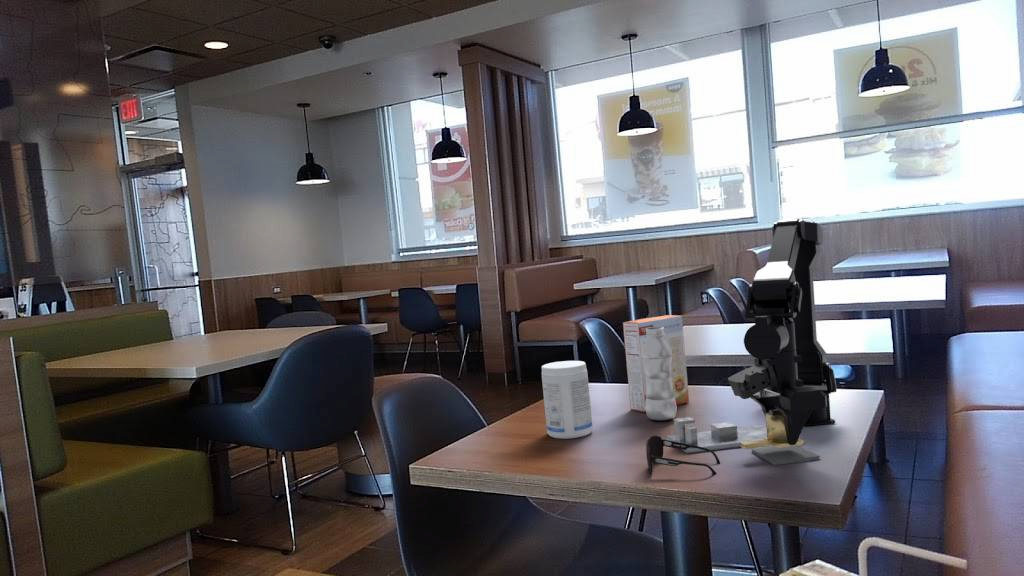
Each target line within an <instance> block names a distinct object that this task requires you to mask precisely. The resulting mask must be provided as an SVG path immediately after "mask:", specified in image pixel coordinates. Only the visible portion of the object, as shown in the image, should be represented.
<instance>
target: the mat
mask: <svg viewBox="0 0 1024 576" xmlns="http://www.w3.org/2000/svg"><path fill="white" fill-rule="evenodd" d="M751 453H752V454H753V455H756V456H757V457H759V458H761V459H763V460H765V461H766V462H769V463H770V464H772V465H773V466H778V465H779V466H780V465H785V464H786V465H787V464H793V463H794V464H795V463H803V462H811V461H819V460H821V456H820V455H818V454H817V453H814V452H813V451H810V450H808V449H807V448H804V447H802V446H801V445H796V446H789V447H781V448H778V447H776V446H766V447H759V448H752V449H751Z"/></svg>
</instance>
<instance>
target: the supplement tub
mask: <svg viewBox="0 0 1024 576" xmlns="http://www.w3.org/2000/svg"><path fill="white" fill-rule="evenodd" d="M541 382H542V383H541V384H542V393H543V403H544V414H545V424H546V431H547V432H546V433H547V434H548V435H549V437H551V438H554V439H560V440H561V439H564V440H566V439H567V440H568V439H569V440H570V439H577V438H581V437H585V436H588V435H590V434H591V433H592V431H593V415H592V407H591V395H590V387H589V386H590V383H589V377H588V370H587V364H586V362H585V361H582V360H564V361H563V360H562V361H554V362H549V363H545V364H543V365H541Z"/></svg>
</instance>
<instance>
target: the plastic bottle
mask: <svg viewBox="0 0 1024 576" xmlns="http://www.w3.org/2000/svg"><path fill="white" fill-rule="evenodd" d="M663 336H665V334H664V328H663V327H651V328H646V337H648V339H647V341H646V343H645V344H644V346H643V348H642V350H641V357H642V362H643V366H644V371H645V377H646V402H645V410H646V412H645V413H646V416H647V418H649V419H650V420H652V421H654V420H655V421H660V422H661V421H668V420H672V419H675V417H676V415H677V410H678V409H677V408H678V407H677V405H676V401H675V398H674V394H673V388H672V381H671V362H672V351H671V348H670V346H669V345H668V344H667V342H666V341H665V340H664V339H663Z"/></svg>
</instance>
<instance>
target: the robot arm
mask: <svg viewBox="0 0 1024 576" xmlns="http://www.w3.org/2000/svg"><path fill="white" fill-rule="evenodd" d="M771 229H772V230H771V234H772V235H771V236H772V239H771V240H772V242H771V246H770V249H769V252H768V257H767V261H766V264H765V266H763V267H762V268H760V269H759V270H757V271H756V272H755V275H754V277H753V279H752V282H751V283H750V284H749V286H748V293H747V301H746V309H745V320H754V325H752V326H750V327H749V328H747V330H746V332H745V334H744V336H743V344H744V348H745V350H746V351H747V353H748V354H749V355H750V356H751V357H754V365H752V366H750V367H747V368H745V369H743V370H741V371H739V372H737V373H734V374H733V375H731V376H729V377H728V378H727V380H728V383H729V385H730V387H731V390H732V392H733V395H734V396H736V397H739V398H740V399H742V400H747V399H752V401H754V402H756V404H758V405H759V406H760V407H761V410H762V412H763V414H764V417H765V418H766V413H767V412H769V410H773V409H777V410H778V411H779V412H780V413H781V414H782V415H783V418H784V424H785V429H786V435H787V439H788V443H789V445H795V444H796V443H797V441H798V438H799V436H800V437H801V433H802V432H803V429H804V427H810V426H818V425H826V424H827V425H828V424H835V423H836V419H833V418H832V417H831V405H830V395H831V394H833V393H836V392H837V383H836V382H837V381H836V376H835V372H834V369H833V368H832V366H831V363H830V362H828V359H827V352H826V350H825V349H824V348H823V346H822V345H821V344H820V342H819V341H818V339H817V338H818V337H817V336H818V335H817V324H816V323H817V320H816V306H815V305H816V304H815V302H816V301H815V286H814V285H815V284H814V270H813V266H814V265H815V263H816V261H817V259H818V258H819V256H820V255H821V245H823V242H824V235H823V233H824V232H823V229H822V226H821V225H820V224H819V223H817V222H815V221H805V220H804V219H800V218H791V219H788V218H787V219H781V220H777V221H774V223H773V226H772V227H771Z"/></svg>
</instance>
